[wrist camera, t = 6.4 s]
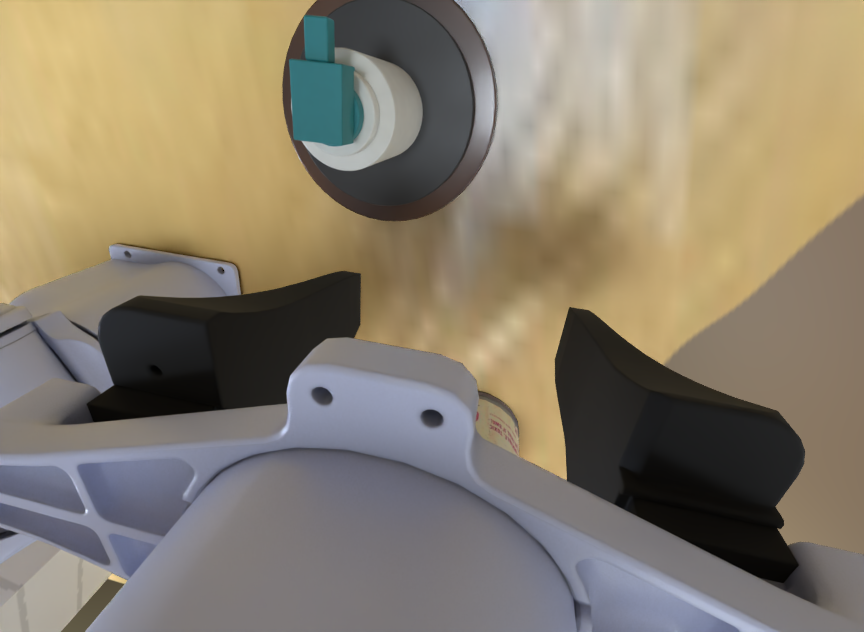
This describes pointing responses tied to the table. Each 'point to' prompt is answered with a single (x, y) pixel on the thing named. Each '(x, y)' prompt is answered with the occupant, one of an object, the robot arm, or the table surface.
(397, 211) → the turntable base
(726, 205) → the table surface
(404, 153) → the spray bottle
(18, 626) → the pizza boxes
